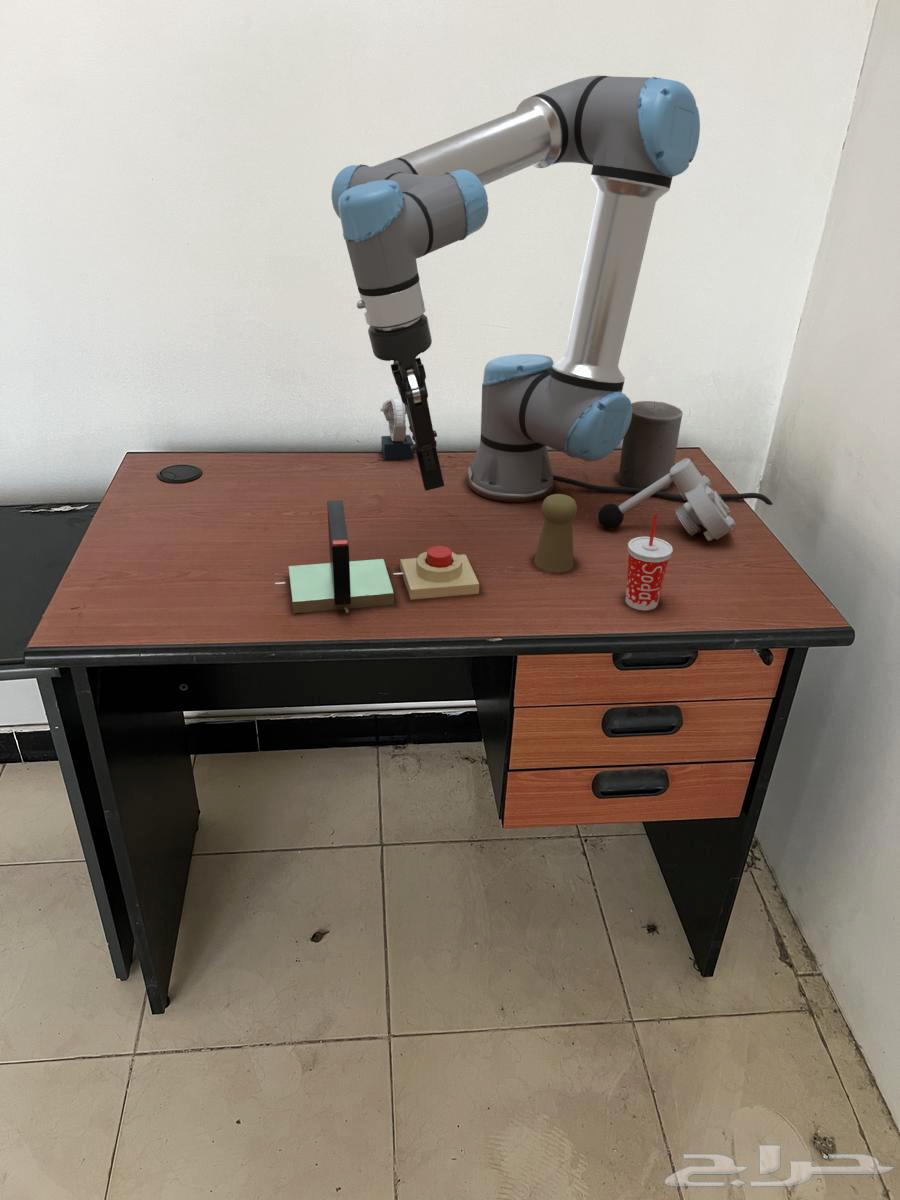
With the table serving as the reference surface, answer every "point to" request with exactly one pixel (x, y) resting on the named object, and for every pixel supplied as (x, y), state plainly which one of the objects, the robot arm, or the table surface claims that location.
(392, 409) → the watch
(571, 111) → the robot arm
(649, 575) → the beverage cup
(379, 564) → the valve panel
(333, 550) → the black panel
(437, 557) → the red push button
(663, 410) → the pillar candle
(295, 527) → the table surface
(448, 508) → the table surface
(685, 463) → the mechanical valve
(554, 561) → the olive pawn
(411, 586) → the button box
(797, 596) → the table surface
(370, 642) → the table surface
